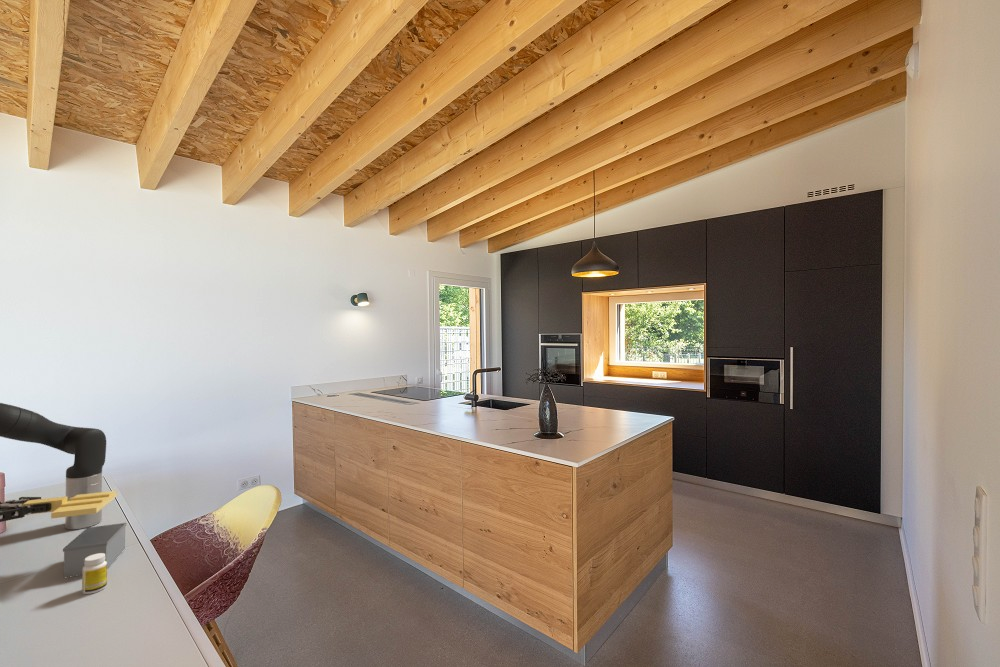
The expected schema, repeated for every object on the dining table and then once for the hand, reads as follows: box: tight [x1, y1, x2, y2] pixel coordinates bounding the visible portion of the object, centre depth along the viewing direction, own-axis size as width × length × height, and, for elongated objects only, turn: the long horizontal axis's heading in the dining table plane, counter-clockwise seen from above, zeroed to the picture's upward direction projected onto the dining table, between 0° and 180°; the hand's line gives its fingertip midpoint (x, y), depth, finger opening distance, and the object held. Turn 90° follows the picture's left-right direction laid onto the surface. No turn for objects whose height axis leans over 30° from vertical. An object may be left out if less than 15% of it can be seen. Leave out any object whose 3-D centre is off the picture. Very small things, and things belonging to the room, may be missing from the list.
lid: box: [23, 490, 118, 519], centre depth 127 cm, size 14×18×3 cm
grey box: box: [62, 522, 127, 578], centre depth 129 cm, size 14×9×8 cm, turn 23°
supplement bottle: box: [81, 553, 108, 595], centre depth 116 cm, size 5×5×8 cm
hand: (53, 504), depth 126 cm, fingers closed on lid, 3 cm apart
